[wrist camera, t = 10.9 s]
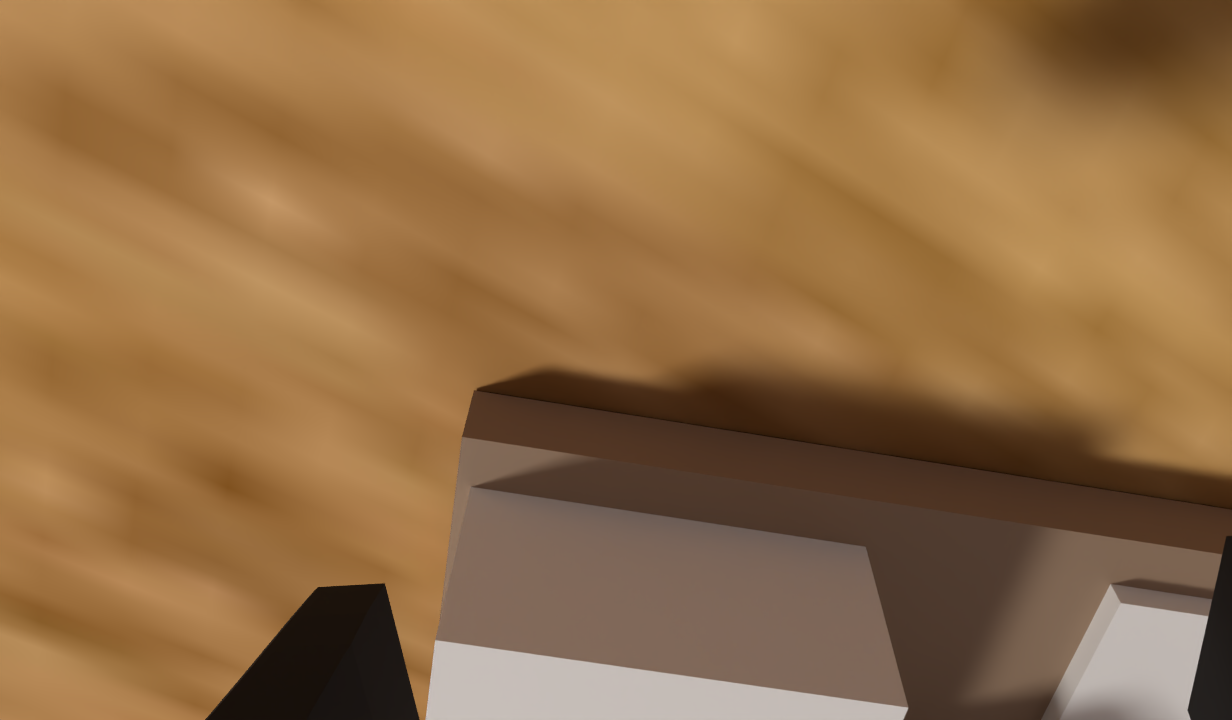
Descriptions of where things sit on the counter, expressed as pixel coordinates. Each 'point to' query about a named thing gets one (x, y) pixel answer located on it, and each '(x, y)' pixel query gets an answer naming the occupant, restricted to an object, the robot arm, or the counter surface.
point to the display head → (800, 582)
